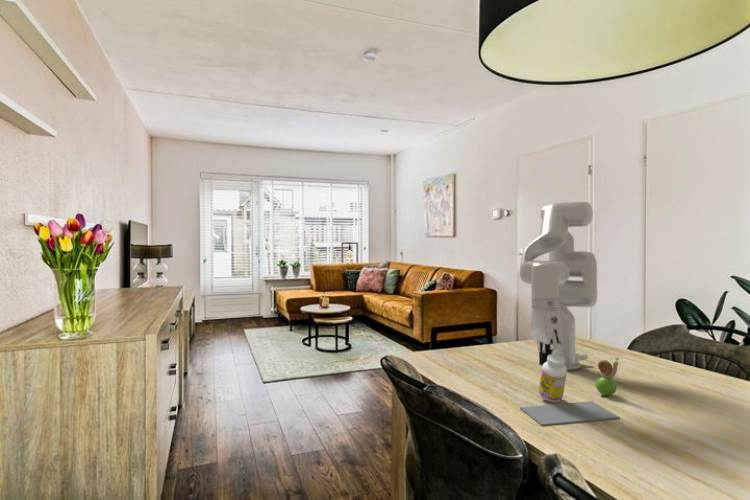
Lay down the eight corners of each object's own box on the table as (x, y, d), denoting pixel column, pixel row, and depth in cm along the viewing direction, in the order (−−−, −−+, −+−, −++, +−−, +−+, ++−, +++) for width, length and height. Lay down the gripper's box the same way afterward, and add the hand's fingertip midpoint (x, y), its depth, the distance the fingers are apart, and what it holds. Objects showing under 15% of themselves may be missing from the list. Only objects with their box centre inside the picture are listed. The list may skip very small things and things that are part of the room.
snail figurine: (612, 400, 121) (612, 359, 121) (592, 393, 127) (591, 354, 127) (624, 397, 124) (623, 356, 124) (603, 390, 130) (603, 351, 129)
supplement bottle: (534, 389, 126) (539, 352, 122) (555, 387, 127) (561, 351, 123) (544, 404, 120) (551, 366, 116) (566, 402, 121) (573, 364, 117)
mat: (592, 402, 120) (592, 401, 120) (619, 418, 109) (619, 417, 109) (520, 408, 117) (520, 407, 117) (541, 425, 106) (541, 424, 106)
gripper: (571, 307, 118) (572, 372, 118) (543, 300, 133) (544, 358, 133) (546, 308, 117) (547, 373, 117) (521, 301, 132) (521, 359, 132)
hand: (545, 365), depth 125 cm, fingers closed
